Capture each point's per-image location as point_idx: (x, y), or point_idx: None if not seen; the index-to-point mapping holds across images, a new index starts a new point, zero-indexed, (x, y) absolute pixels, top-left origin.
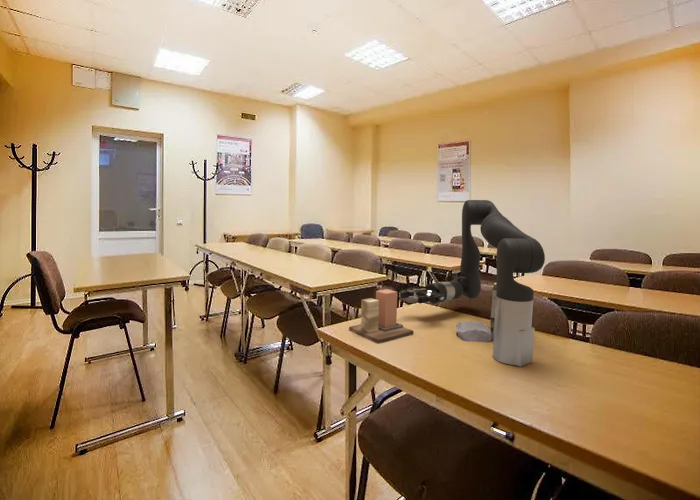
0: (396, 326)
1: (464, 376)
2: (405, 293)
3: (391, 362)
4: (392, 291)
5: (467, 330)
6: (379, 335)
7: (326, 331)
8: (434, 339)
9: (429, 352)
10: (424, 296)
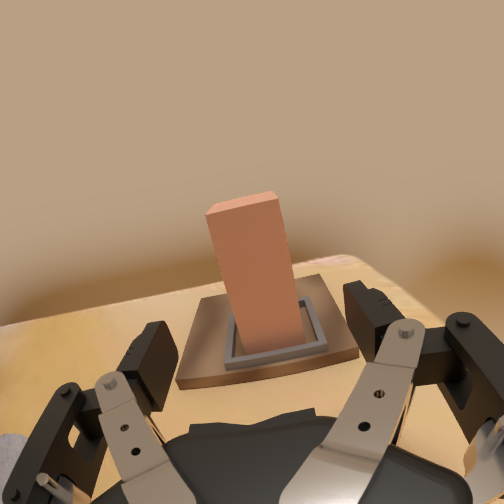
0: (227, 342)
1: (39, 339)
2: (358, 313)
3: (136, 300)
4: (225, 208)
5: (6, 439)
6: (219, 304)
7: (331, 258)
8: None
9: (94, 352)
10: (131, 352)
